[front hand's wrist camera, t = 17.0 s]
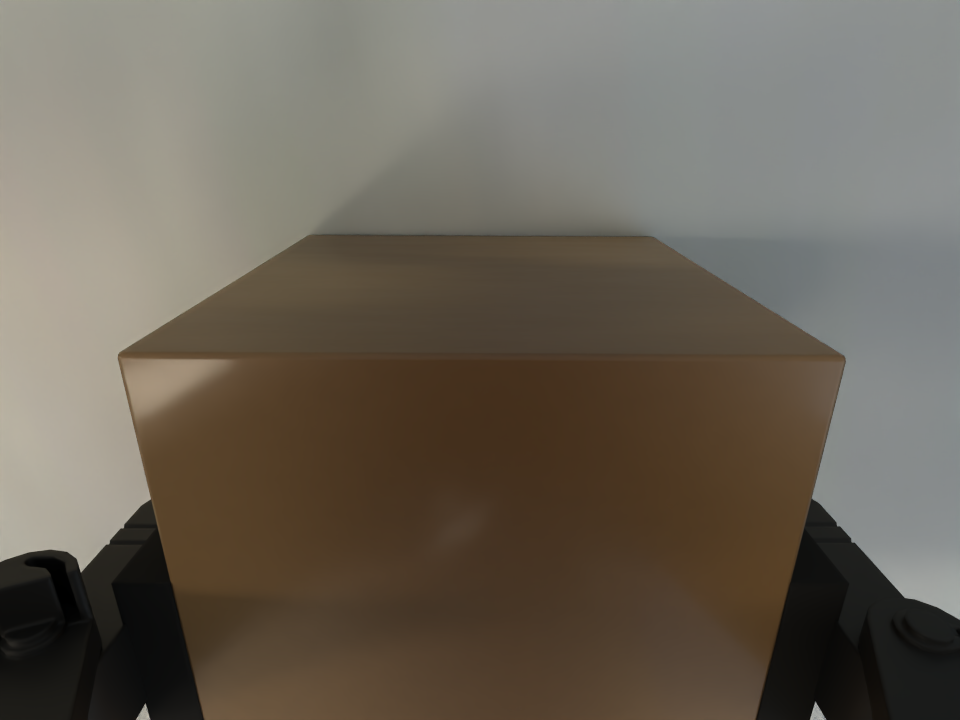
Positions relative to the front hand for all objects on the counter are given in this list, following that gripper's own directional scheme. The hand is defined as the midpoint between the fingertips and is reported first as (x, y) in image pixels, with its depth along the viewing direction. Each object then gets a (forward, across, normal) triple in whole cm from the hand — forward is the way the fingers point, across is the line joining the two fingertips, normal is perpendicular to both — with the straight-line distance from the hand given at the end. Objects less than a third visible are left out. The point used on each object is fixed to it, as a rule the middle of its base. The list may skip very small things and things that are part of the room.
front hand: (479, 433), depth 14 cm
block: (+1, 0, 0) cm, 1 cm away
